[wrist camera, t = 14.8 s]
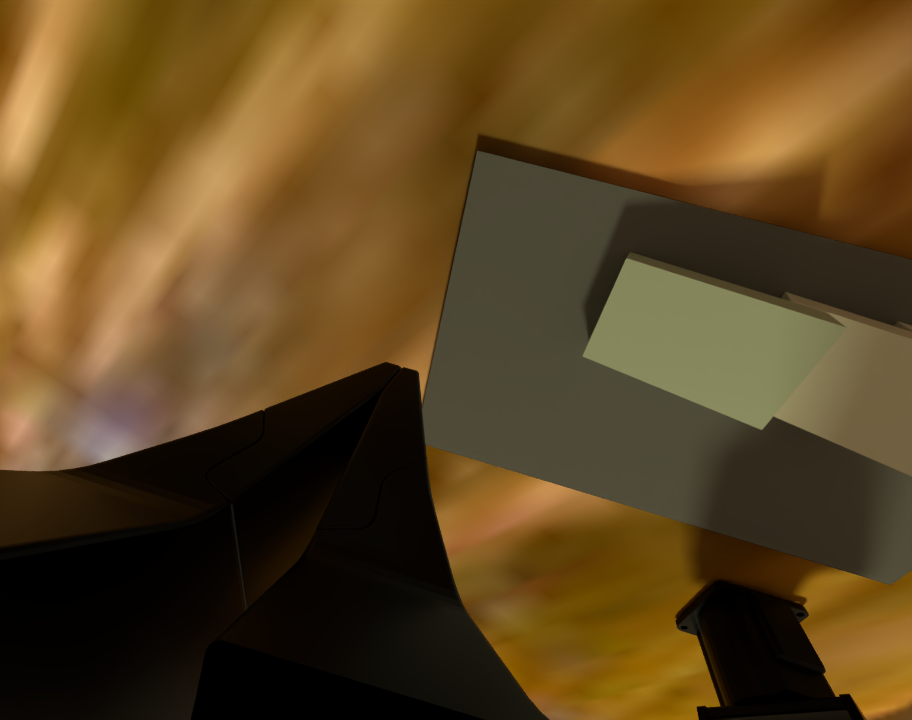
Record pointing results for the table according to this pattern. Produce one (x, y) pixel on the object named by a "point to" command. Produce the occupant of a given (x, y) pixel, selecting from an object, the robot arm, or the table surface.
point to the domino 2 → (859, 390)
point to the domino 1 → (709, 339)
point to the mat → (634, 401)
